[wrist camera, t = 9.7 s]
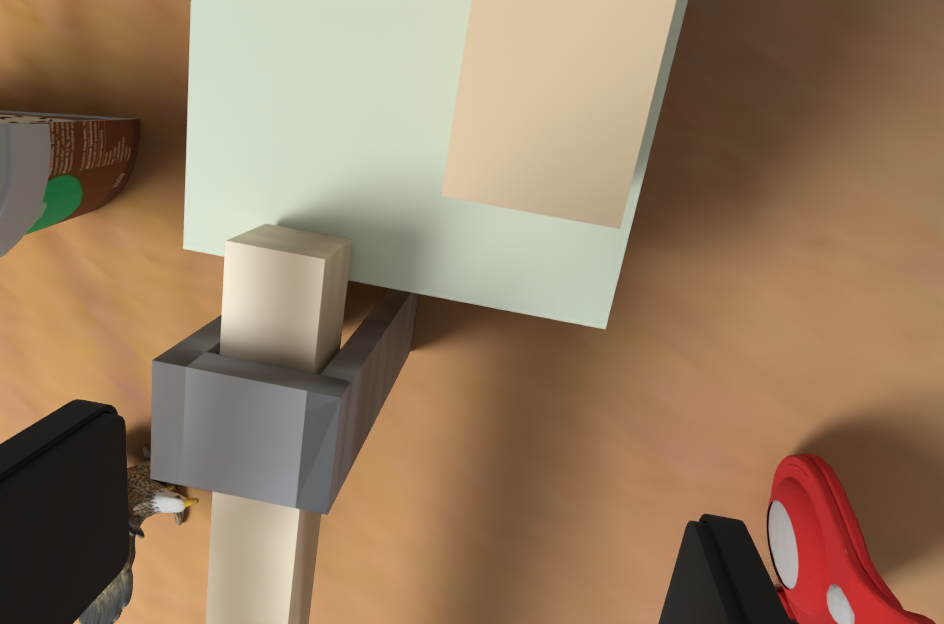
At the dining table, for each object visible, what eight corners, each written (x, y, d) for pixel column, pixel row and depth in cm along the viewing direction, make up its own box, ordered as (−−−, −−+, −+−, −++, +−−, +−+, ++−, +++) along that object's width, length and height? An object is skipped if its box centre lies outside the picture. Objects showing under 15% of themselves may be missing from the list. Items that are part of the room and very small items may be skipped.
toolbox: (664, -130, 26) (805, -387, 12) (548, 378, 33) (559, 562, 19) (323, -187, 26) (108, -493, 13) (281, 326, 33) (112, 470, 20)
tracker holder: (750, 420, 32) (840, 548, 23) (843, 417, 32) (974, 547, 22) (739, 616, 36) (813, 797, 26) (823, 616, 36) (928, 802, 26)
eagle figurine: (245, 516, 37) (159, 638, 28) (132, 528, 38) (16, 649, 29) (206, 395, 35) (101, 488, 26) (88, 411, 36) (-51, 506, 27)
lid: (742, -250, 18) (902, -525, 10) (601, 318, 23) (637, 423, 15) (222, -332, 18) (-4, -655, 11) (199, 242, 24) (37, 306, 16)
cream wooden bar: (352, 239, 22) (325, 259, 19) (283, 845, 31) (257, 920, 28) (265, 223, 22) (225, 240, 19) (222, 832, 31) (191, 905, 28)
